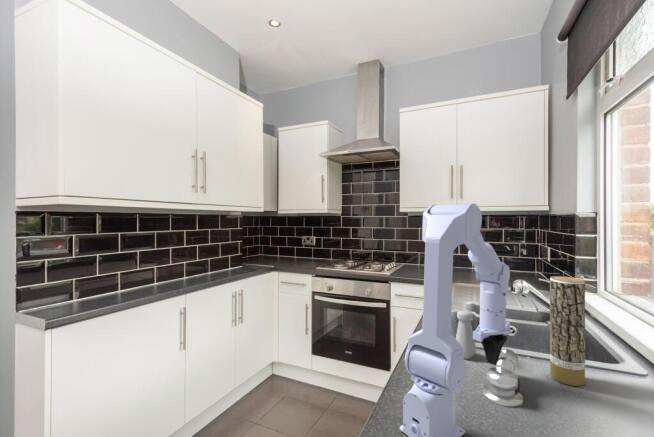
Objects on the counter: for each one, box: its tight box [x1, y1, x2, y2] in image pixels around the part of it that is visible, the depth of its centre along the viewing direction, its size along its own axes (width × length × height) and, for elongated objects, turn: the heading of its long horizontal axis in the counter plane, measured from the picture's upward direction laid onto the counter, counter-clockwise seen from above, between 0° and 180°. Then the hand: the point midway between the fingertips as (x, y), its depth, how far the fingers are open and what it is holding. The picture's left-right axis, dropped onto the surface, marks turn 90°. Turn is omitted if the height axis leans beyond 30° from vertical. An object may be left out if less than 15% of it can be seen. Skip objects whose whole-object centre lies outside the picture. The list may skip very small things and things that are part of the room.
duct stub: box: [481, 376, 524, 408], centre depth 70 cm, size 9×8×4 cm
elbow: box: [486, 348, 519, 391], centre depth 73 cm, size 15×6×4 cm, turn 143°
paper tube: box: [549, 275, 586, 387], centre depth 76 cm, size 7×7×25 cm
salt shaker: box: [455, 309, 477, 360], centre depth 90 cm, size 6×6×13 cm
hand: (492, 363), depth 77 cm, fingers closed, pressing on elbow
